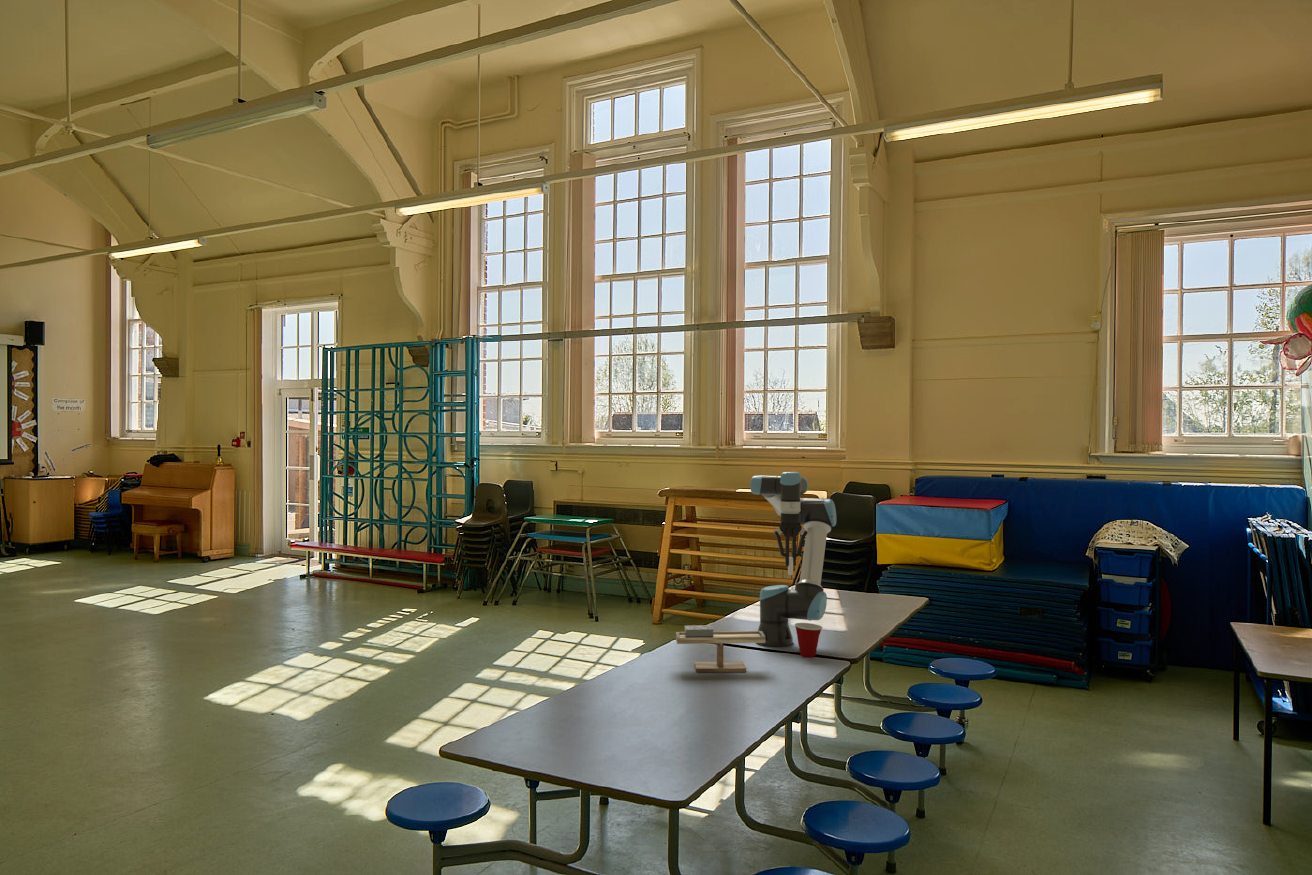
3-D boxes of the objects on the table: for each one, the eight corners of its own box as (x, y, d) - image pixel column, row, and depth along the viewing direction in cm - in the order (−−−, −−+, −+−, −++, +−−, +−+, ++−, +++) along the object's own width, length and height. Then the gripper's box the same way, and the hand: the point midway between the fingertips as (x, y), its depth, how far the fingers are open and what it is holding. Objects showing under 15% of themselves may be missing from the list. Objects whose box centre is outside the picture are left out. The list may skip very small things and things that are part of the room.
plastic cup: (825, 659, 334) (825, 627, 334) (796, 659, 335) (796, 627, 335) (820, 652, 345) (820, 621, 345) (792, 652, 346) (792, 621, 346)
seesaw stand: (694, 664, 326) (694, 640, 326) (742, 664, 327) (742, 640, 327) (696, 672, 316) (696, 647, 316) (746, 671, 317) (746, 647, 317)
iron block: (684, 634, 325) (684, 625, 325) (711, 634, 325) (711, 625, 325) (685, 639, 318) (685, 629, 318) (713, 638, 318) (713, 629, 318)
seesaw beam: (675, 640, 326) (675, 631, 326) (761, 638, 327) (761, 630, 327) (676, 646, 316) (676, 637, 316) (765, 645, 317) (765, 636, 317)
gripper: (774, 513, 330) (775, 576, 330) (809, 513, 330) (809, 576, 330) (772, 511, 338) (772, 573, 338) (805, 511, 338) (805, 572, 338)
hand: (790, 574), depth 334 cm, fingers closed
